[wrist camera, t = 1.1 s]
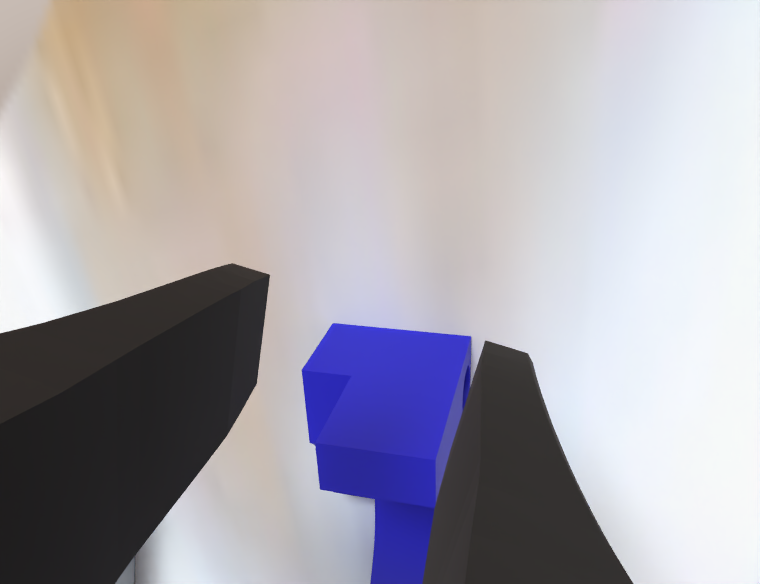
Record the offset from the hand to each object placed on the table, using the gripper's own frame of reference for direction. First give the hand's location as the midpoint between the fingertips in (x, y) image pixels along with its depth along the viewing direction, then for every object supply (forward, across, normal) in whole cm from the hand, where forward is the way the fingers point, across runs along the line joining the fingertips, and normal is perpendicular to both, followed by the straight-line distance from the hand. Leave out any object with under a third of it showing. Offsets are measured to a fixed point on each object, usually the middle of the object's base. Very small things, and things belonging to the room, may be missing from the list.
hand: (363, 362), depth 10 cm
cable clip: (+10, -1, +11) cm, 15 cm away
